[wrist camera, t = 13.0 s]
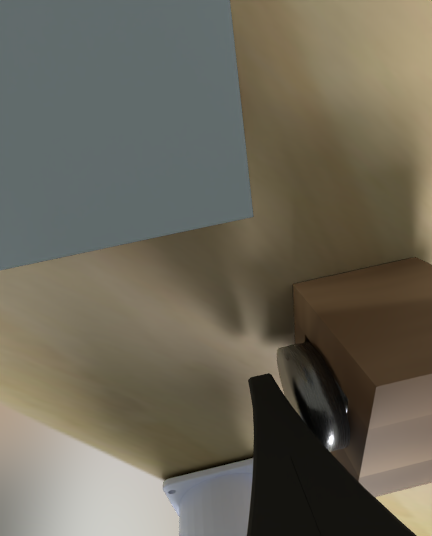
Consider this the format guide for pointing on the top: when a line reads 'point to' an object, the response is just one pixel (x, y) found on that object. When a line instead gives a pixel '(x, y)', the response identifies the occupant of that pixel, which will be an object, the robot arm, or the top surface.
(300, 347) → the rod
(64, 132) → the block
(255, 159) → the top surface
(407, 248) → the top surface
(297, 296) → the rod housing
